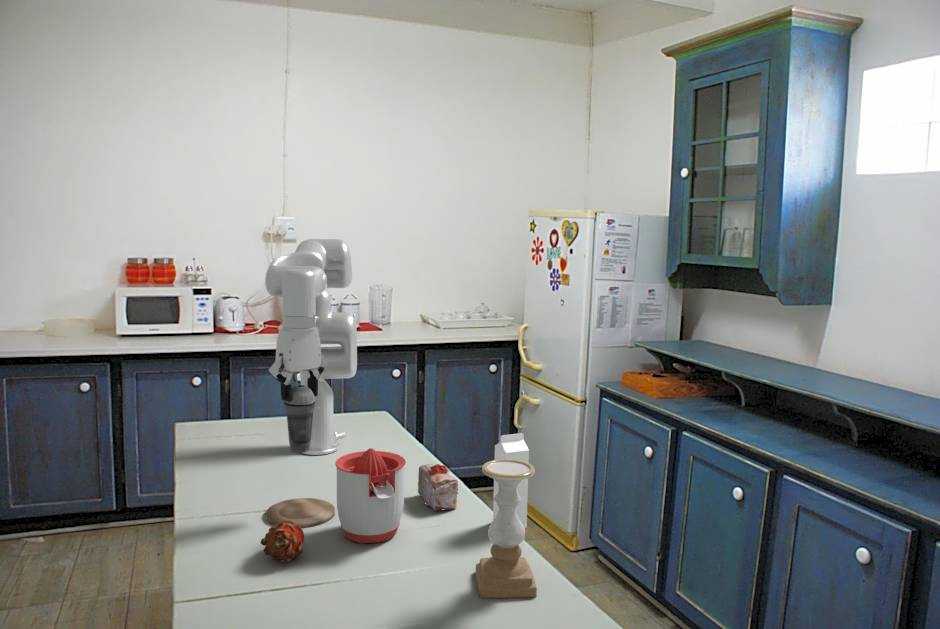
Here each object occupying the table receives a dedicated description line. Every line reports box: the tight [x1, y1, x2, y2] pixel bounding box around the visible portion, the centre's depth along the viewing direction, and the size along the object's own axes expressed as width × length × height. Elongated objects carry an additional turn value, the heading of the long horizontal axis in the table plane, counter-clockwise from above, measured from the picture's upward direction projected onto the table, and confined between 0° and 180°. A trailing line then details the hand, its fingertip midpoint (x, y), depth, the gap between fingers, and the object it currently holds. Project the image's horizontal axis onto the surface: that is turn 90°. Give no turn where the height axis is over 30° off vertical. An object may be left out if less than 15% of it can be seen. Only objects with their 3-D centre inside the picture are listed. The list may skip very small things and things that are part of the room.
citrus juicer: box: [334, 447, 407, 544], centre depth 167 cm, size 16×17×20 cm
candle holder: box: [474, 459, 538, 599], centre depth 146 cm, size 11×11×24 cm
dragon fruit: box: [260, 520, 305, 563], centre depth 156 cm, size 8×8×12 cm
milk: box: [492, 432, 530, 529], centre depth 174 cm, size 6×6×22 cm
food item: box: [417, 463, 459, 511], centre depth 188 cm, size 14×8×10 cm, turn 24°
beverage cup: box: [283, 372, 316, 454], centre depth 176 cm, size 7×7×20 cm
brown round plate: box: [265, 497, 336, 529], centre depth 179 cm, size 16×16×1 cm
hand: (299, 397), depth 175 cm, fingers closed on beverage cup, 6 cm apart
